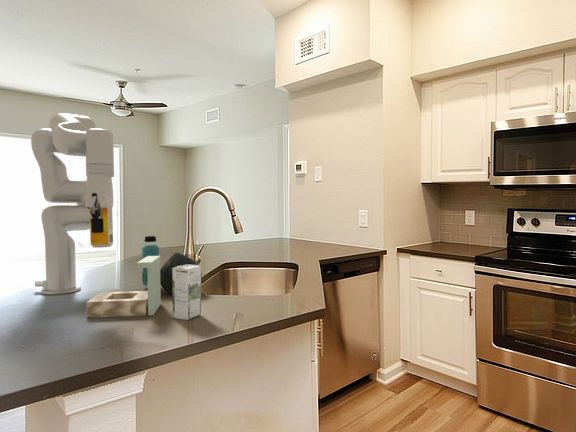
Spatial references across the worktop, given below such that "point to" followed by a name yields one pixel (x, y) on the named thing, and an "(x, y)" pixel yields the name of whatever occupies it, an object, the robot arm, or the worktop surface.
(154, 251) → the beverage bottle
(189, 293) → the syrup box
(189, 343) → the worktop surface
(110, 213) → the beer can
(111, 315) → the socket
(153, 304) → the mint green slab
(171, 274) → the squash
